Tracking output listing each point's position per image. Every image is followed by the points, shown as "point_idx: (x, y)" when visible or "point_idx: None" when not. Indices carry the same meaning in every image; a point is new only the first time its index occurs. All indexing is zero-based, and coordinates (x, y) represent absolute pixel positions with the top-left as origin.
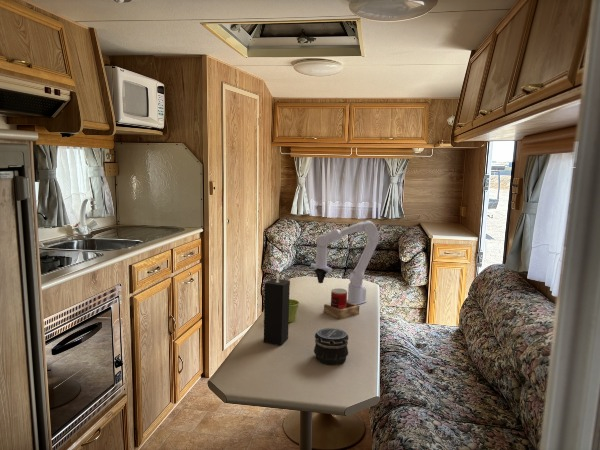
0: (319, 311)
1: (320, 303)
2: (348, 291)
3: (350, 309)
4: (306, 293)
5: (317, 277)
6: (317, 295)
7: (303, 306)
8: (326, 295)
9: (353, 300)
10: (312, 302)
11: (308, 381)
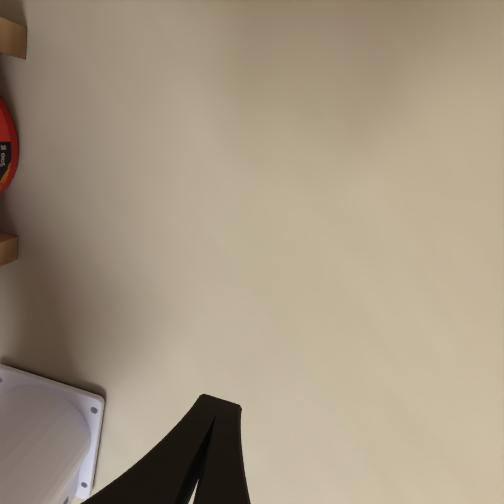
0: (71, 25)
1: (210, 241)
2: (10, 468)
3: None
4: (485, 414)
5: (236, 474)
6: (363, 416)
7: (280, 38)
8: (300, 454)
9: (3, 399)
10: (283, 217)
11: None
